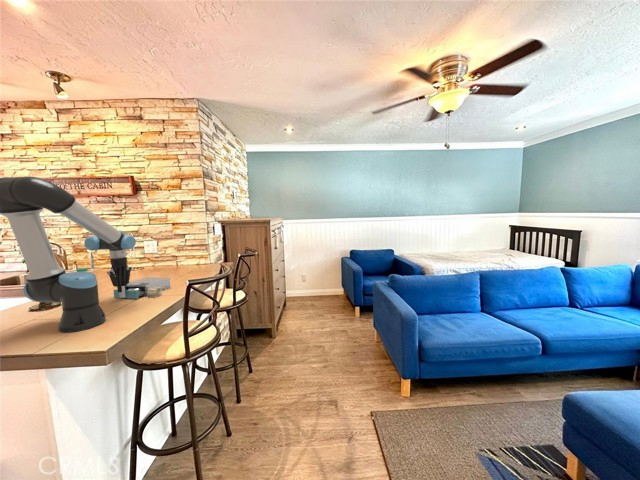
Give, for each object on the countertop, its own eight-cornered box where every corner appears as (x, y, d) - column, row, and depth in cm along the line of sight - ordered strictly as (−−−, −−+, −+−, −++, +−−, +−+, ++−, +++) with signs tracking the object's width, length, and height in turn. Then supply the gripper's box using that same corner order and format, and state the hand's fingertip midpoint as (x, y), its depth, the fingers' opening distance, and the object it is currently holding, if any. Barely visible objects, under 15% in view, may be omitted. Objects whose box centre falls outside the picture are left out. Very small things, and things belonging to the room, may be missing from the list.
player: (146, 296, 149) (145, 285, 149) (122, 295, 153) (121, 283, 152) (170, 288, 167) (169, 277, 166) (148, 287, 171) (147, 277, 170)
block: (155, 297, 146) (154, 289, 146) (148, 297, 147) (147, 289, 147) (162, 295, 151) (161, 287, 151) (155, 294, 152) (154, 287, 152)
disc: (146, 289, 153) (146, 287, 153) (131, 292, 147) (131, 290, 147) (141, 288, 158) (141, 285, 158) (126, 291, 151) (126, 288, 151)
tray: (137, 299, 144) (136, 291, 143) (114, 297, 147) (113, 289, 147) (161, 290, 160) (160, 283, 160) (139, 289, 164) (139, 282, 163)
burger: (54, 303, 141) (52, 290, 140) (67, 305, 137) (65, 292, 136) (23, 311, 129) (21, 297, 129) (37, 313, 126) (35, 299, 125)
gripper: (112, 259, 134) (116, 301, 137) (134, 255, 147) (138, 293, 149) (101, 259, 136) (105, 300, 138) (124, 255, 149) (128, 293, 151)
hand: (122, 297), depth 144 cm, fingers closed
